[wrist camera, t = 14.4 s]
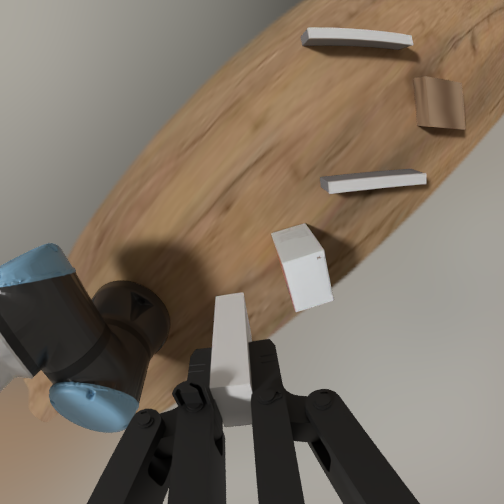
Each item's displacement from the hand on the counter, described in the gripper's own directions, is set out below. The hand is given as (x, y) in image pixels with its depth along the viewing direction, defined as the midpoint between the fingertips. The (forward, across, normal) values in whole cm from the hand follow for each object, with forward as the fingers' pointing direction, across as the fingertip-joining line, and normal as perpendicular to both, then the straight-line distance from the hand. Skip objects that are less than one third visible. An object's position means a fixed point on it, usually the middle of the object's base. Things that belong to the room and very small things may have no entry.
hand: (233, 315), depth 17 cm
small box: (+30, +8, -10) cm, 32 cm away
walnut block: (+30, +35, +12) cm, 47 cm away
